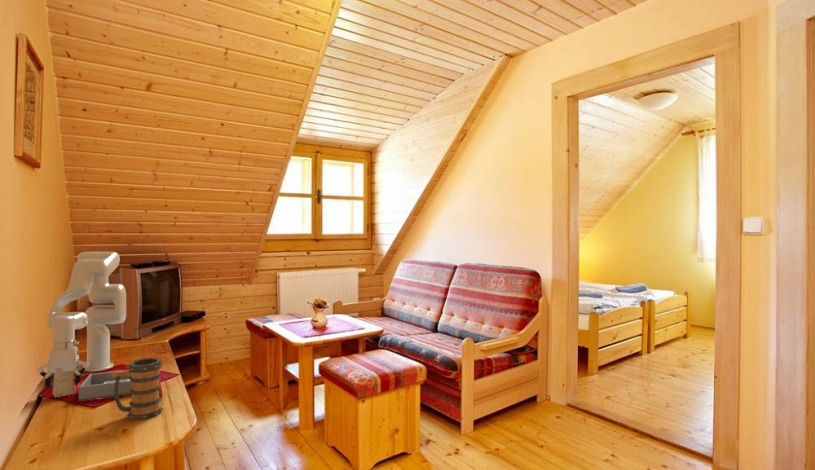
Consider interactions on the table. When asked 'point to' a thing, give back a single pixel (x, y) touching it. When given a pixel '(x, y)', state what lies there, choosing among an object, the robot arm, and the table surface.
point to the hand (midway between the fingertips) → (63, 385)
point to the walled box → (104, 386)
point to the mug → (141, 388)
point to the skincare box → (62, 383)
